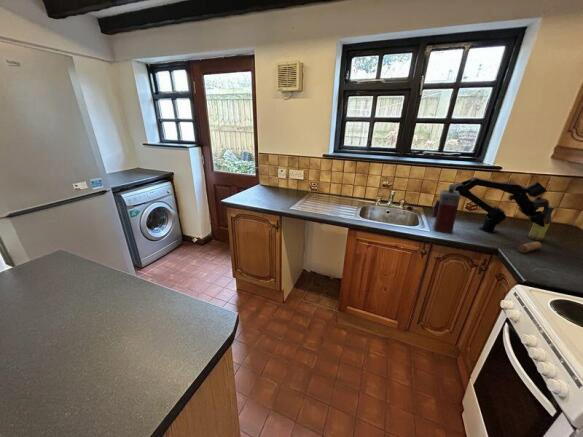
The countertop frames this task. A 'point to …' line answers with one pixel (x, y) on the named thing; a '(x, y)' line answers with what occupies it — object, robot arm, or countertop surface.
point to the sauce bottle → (537, 230)
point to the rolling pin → (529, 247)
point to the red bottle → (446, 210)
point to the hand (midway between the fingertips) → (539, 223)
